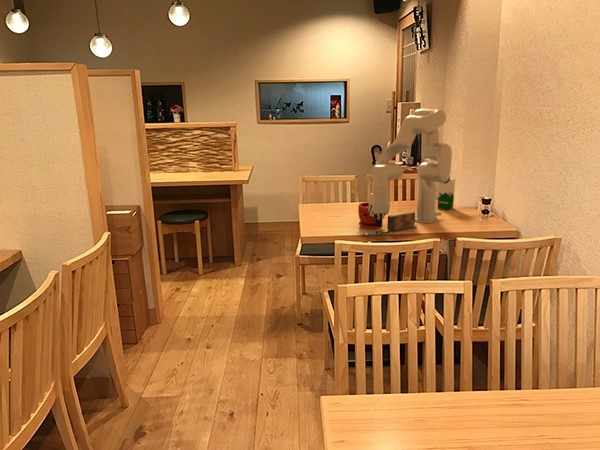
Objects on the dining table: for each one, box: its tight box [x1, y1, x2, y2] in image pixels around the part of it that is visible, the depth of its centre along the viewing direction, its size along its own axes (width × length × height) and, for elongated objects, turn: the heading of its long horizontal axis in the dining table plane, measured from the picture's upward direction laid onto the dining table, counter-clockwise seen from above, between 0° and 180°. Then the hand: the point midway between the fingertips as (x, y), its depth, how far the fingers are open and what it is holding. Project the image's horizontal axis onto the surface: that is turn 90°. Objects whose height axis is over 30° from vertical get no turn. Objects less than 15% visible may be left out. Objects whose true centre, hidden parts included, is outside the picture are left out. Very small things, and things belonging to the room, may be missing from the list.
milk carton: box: [437, 176, 456, 211], centre depth 294 cm, size 9×9×20 cm
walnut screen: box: [386, 211, 416, 230], centre depth 253 cm, size 16×2×7 cm, turn 117°
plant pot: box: [358, 201, 380, 230], centre depth 259 cm, size 13×13×12 cm
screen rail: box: [363, 225, 418, 238], centre depth 252 cm, size 31×3×1 cm, turn 117°
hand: (378, 226), depth 248 cm, fingers closed
